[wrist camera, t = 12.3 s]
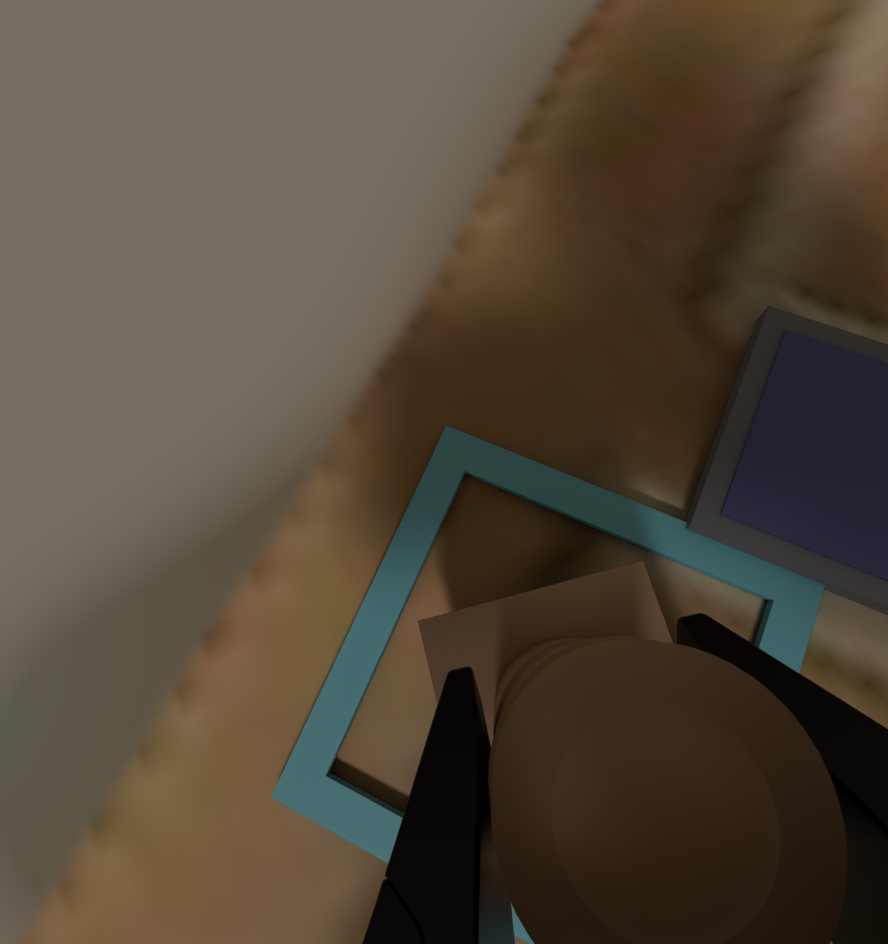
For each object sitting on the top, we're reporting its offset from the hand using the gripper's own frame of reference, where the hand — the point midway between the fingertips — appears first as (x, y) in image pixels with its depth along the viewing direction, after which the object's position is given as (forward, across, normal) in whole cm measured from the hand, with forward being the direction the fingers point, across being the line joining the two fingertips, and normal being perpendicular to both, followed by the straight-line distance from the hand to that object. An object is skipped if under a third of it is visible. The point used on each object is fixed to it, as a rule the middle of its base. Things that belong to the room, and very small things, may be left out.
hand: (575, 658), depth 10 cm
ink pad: (+8, -11, +4) cm, 14 cm away
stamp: (+3, 0, +6) cm, 7 cm away
